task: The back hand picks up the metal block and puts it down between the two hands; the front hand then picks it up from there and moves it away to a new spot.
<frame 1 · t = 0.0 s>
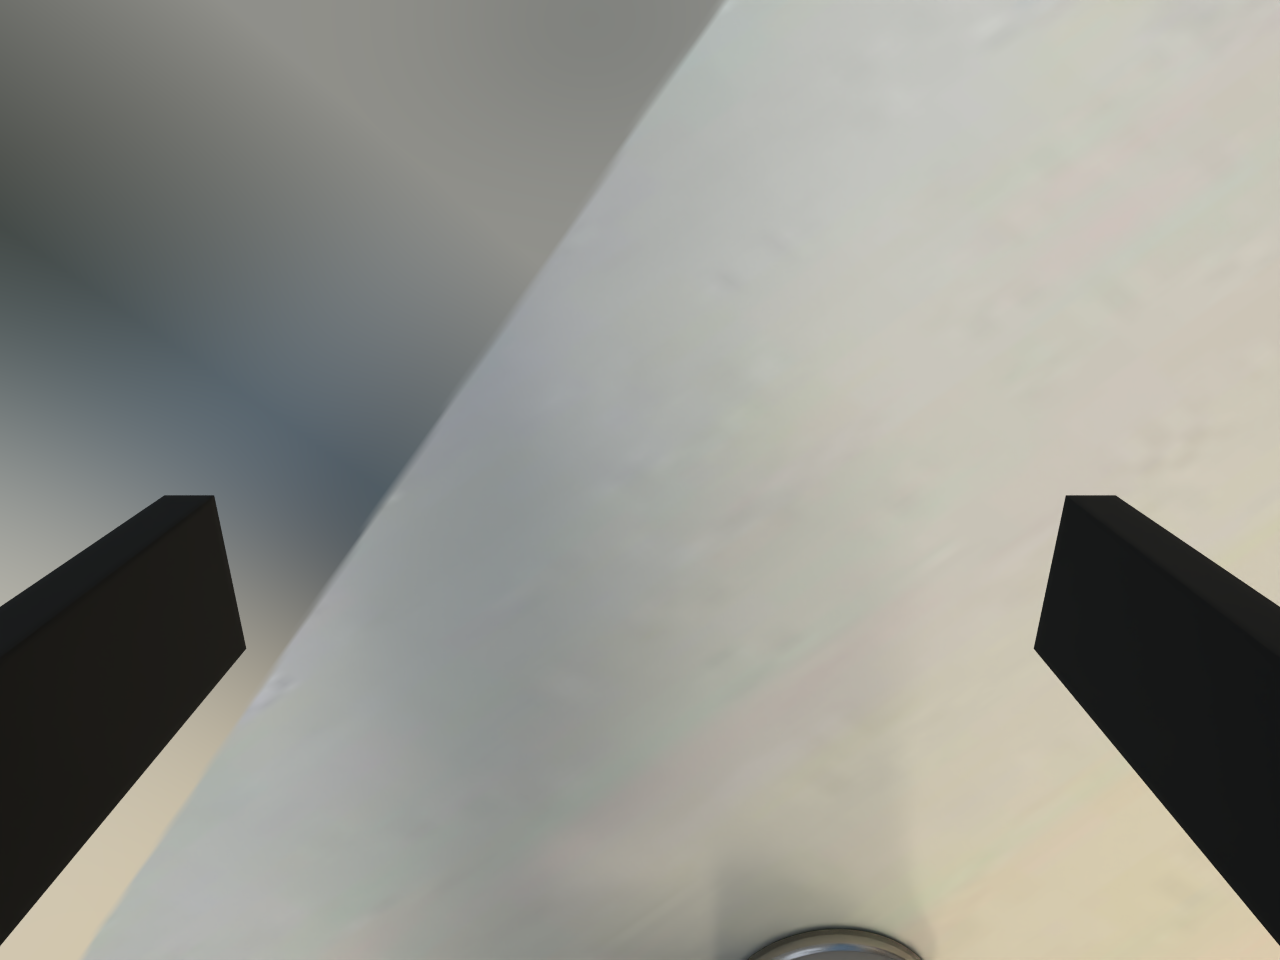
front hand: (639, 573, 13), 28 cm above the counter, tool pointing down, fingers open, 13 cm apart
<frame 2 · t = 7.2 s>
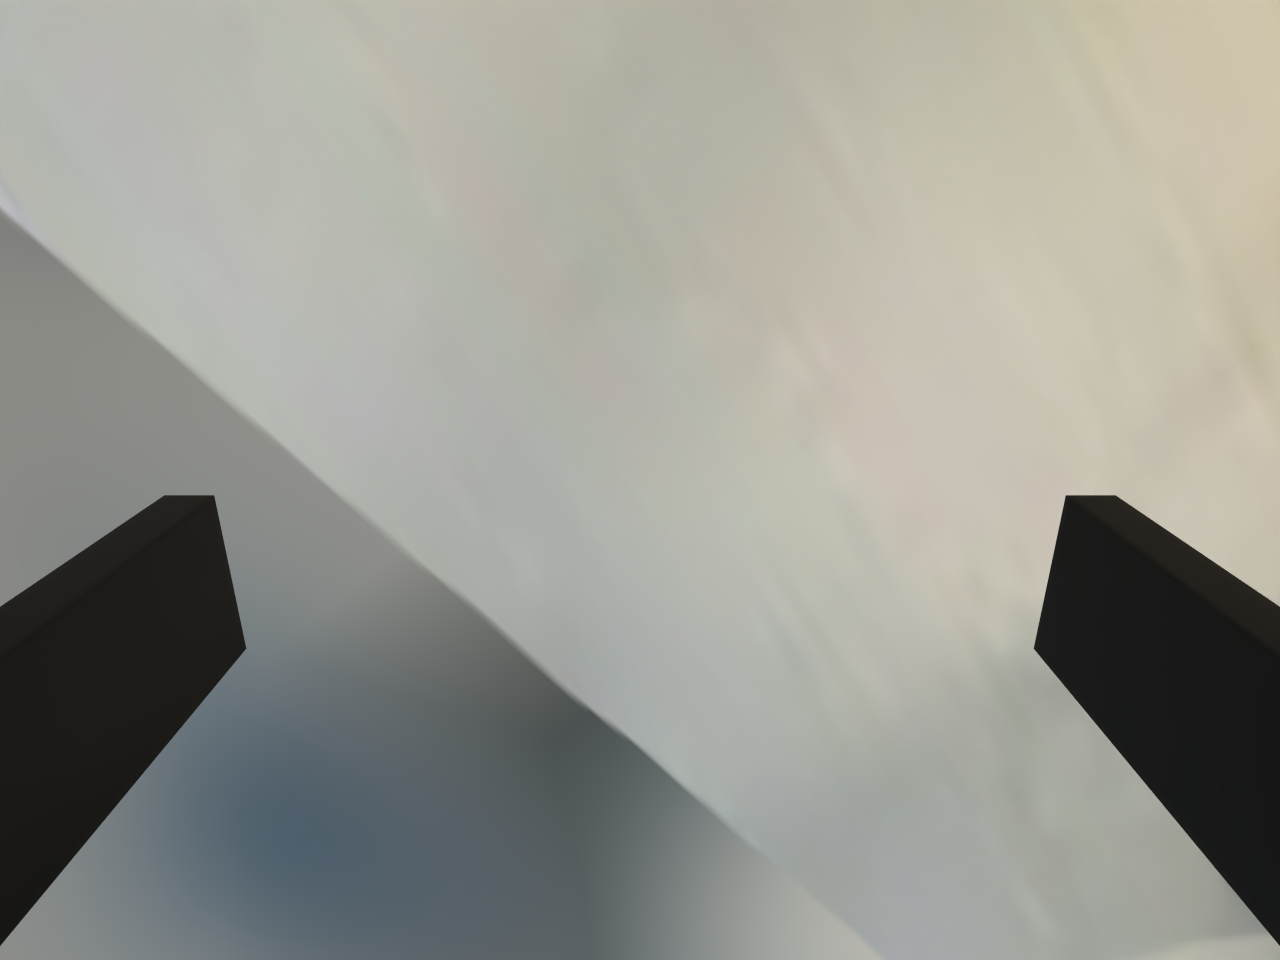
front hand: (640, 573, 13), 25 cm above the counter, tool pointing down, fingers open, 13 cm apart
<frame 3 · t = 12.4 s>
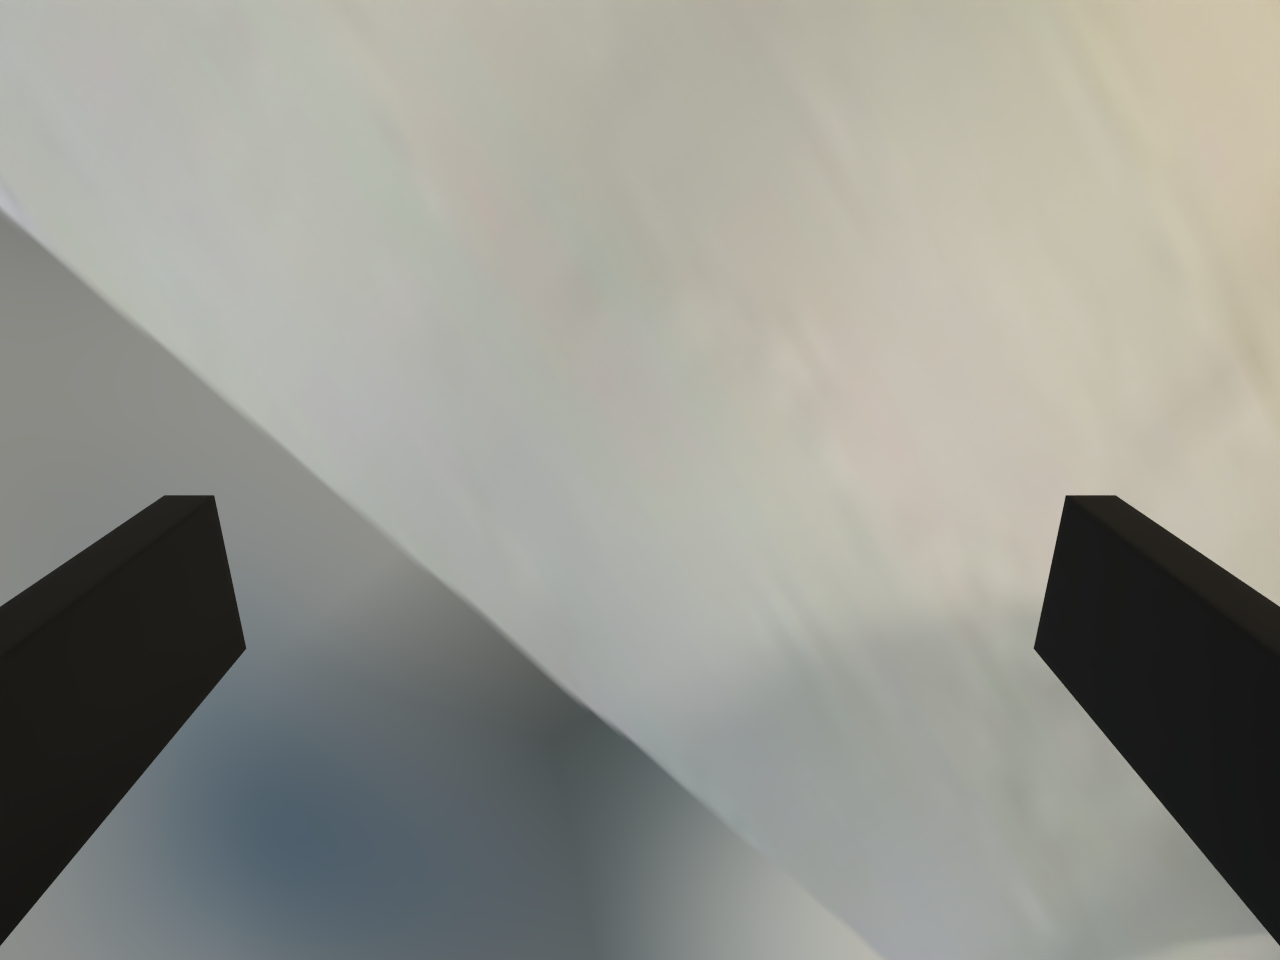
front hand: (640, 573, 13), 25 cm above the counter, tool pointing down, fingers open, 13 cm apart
when the back hand's fingers open (2 cm above the counter, at t = 17.7 s): metal block stays where it is, on the counter.
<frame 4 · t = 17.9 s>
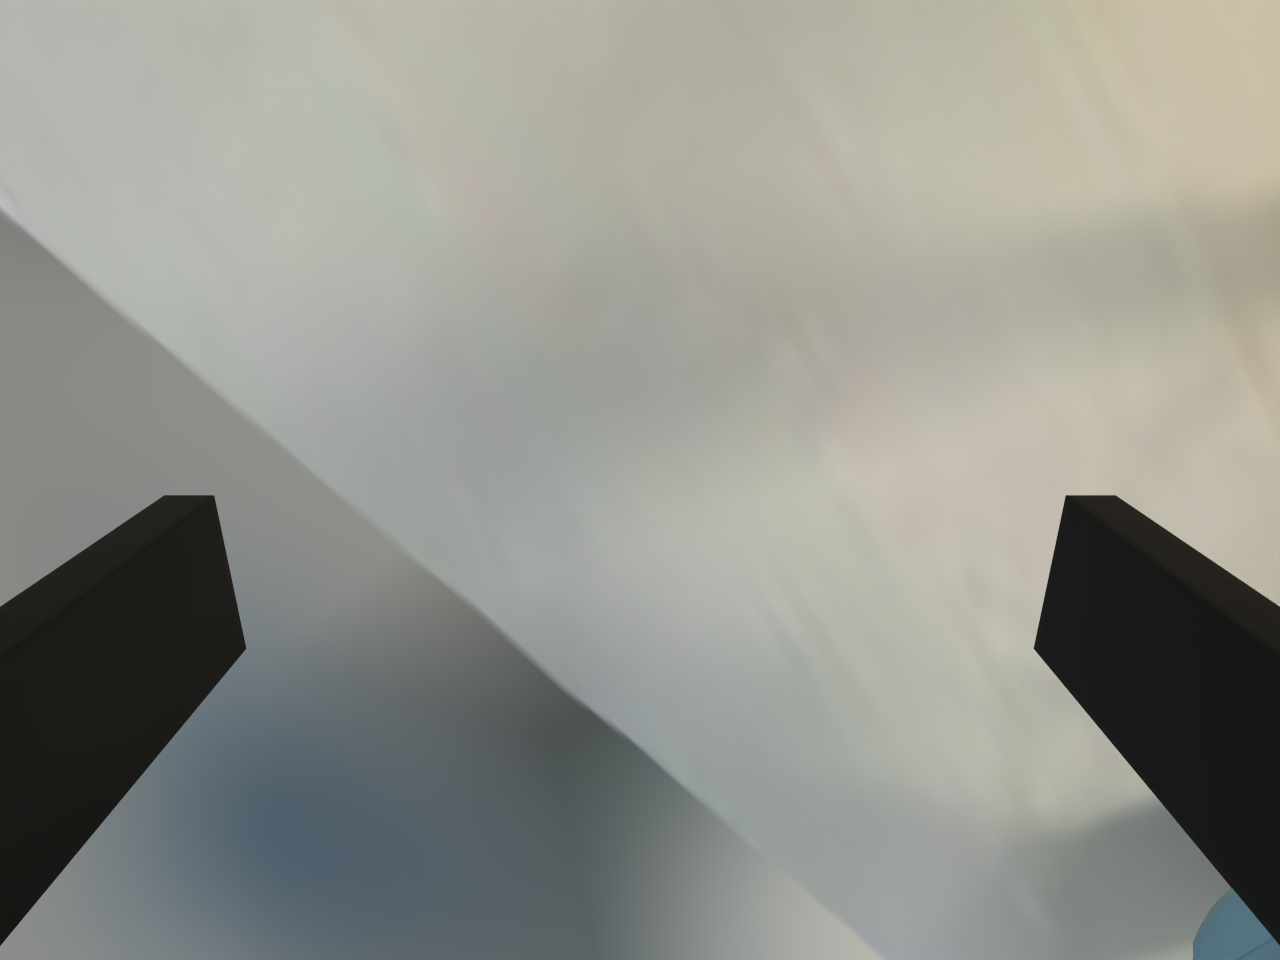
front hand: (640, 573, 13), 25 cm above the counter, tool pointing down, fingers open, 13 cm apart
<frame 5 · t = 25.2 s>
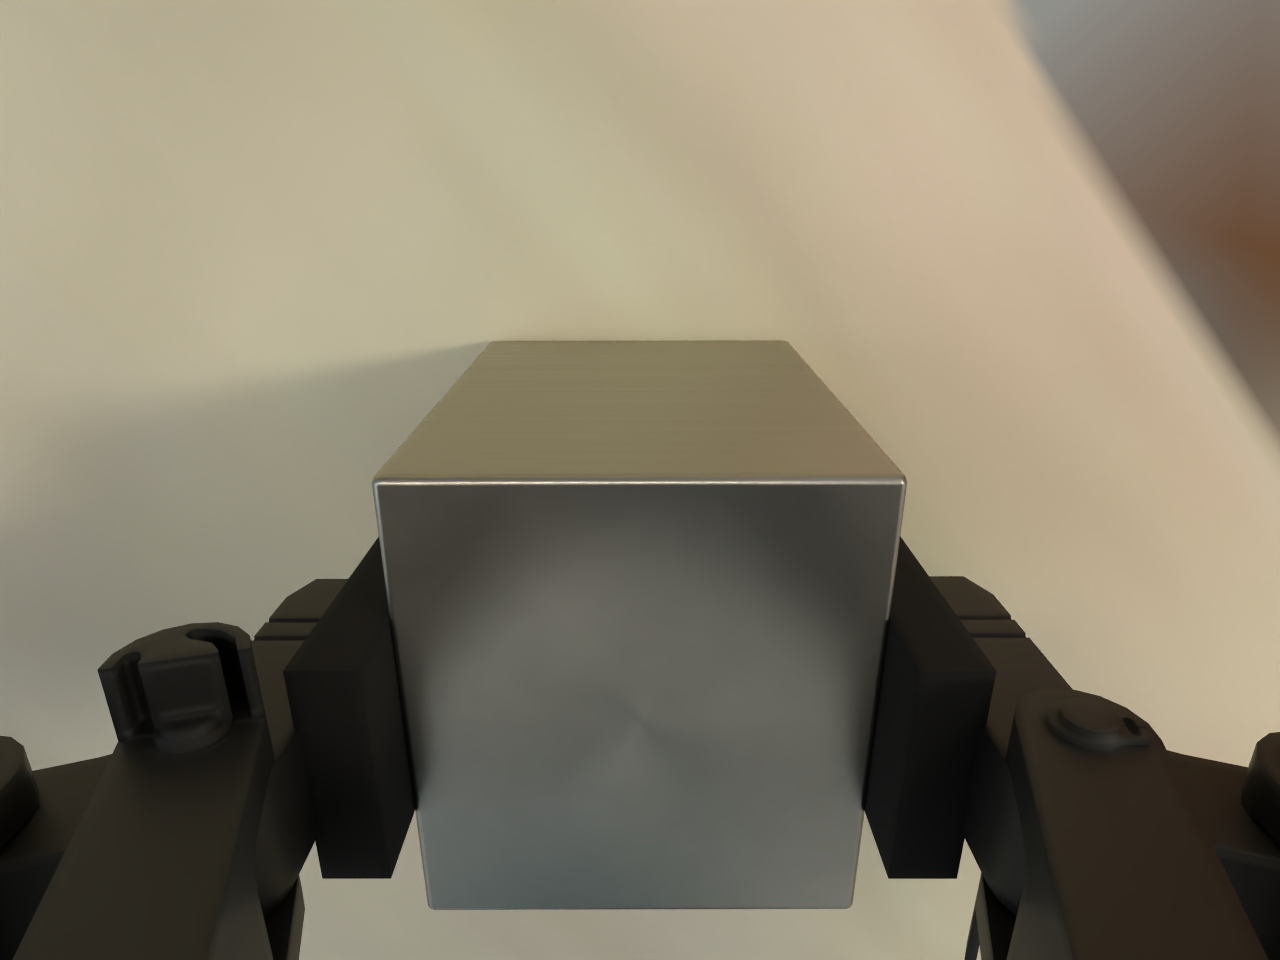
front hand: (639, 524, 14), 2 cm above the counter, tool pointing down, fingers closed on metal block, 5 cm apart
metal block: (639, 491, 16), on the counter, touching front hand
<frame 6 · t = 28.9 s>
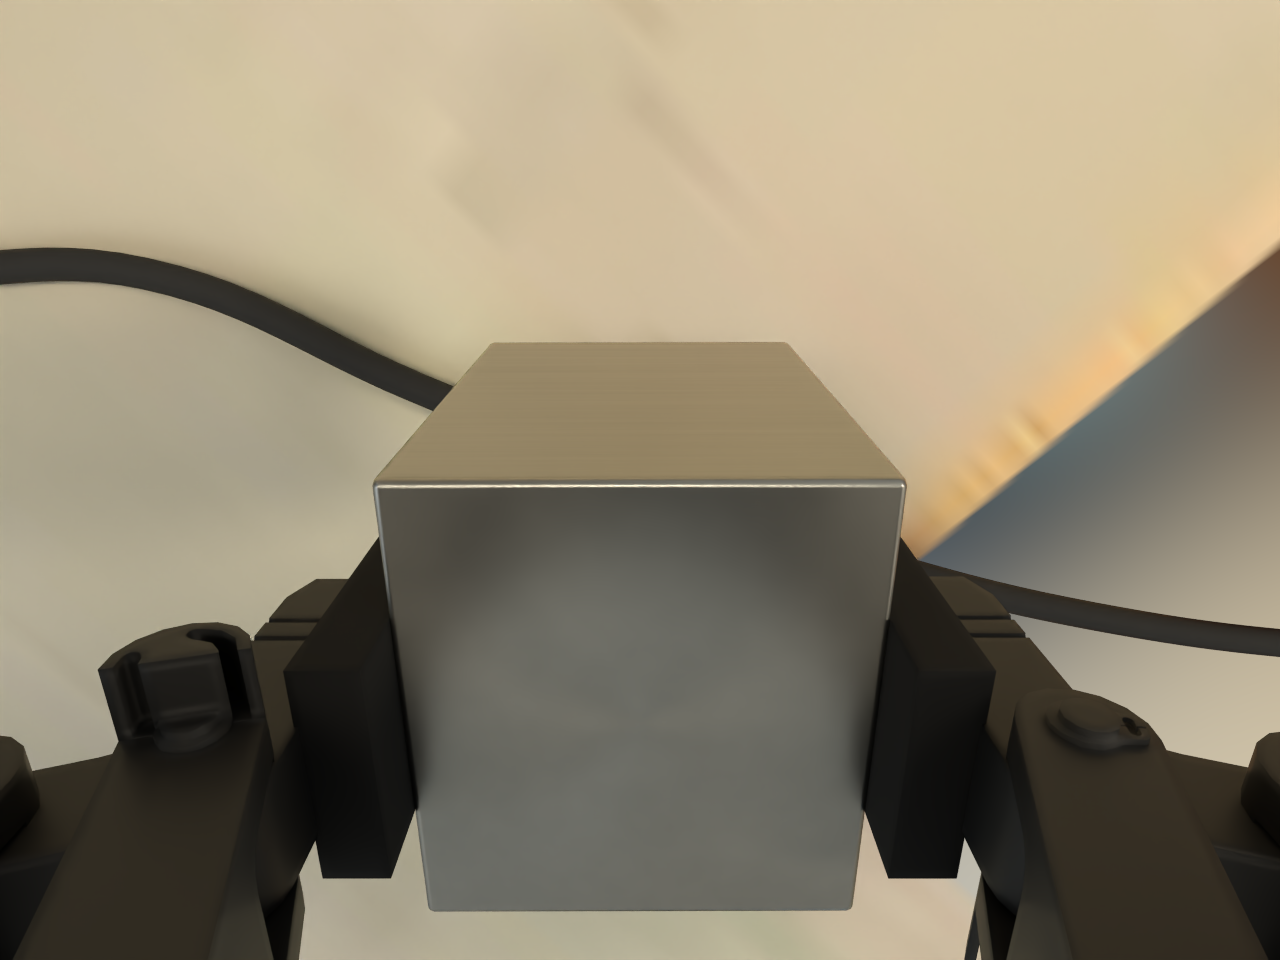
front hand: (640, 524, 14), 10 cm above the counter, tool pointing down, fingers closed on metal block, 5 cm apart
metal block: (639, 492, 16), point 9 cm above the counter, touching front hand
when the front hand's fingers open (2 cm above the counter, at t = 32.6 s): metal block stays where it is, on the counter.
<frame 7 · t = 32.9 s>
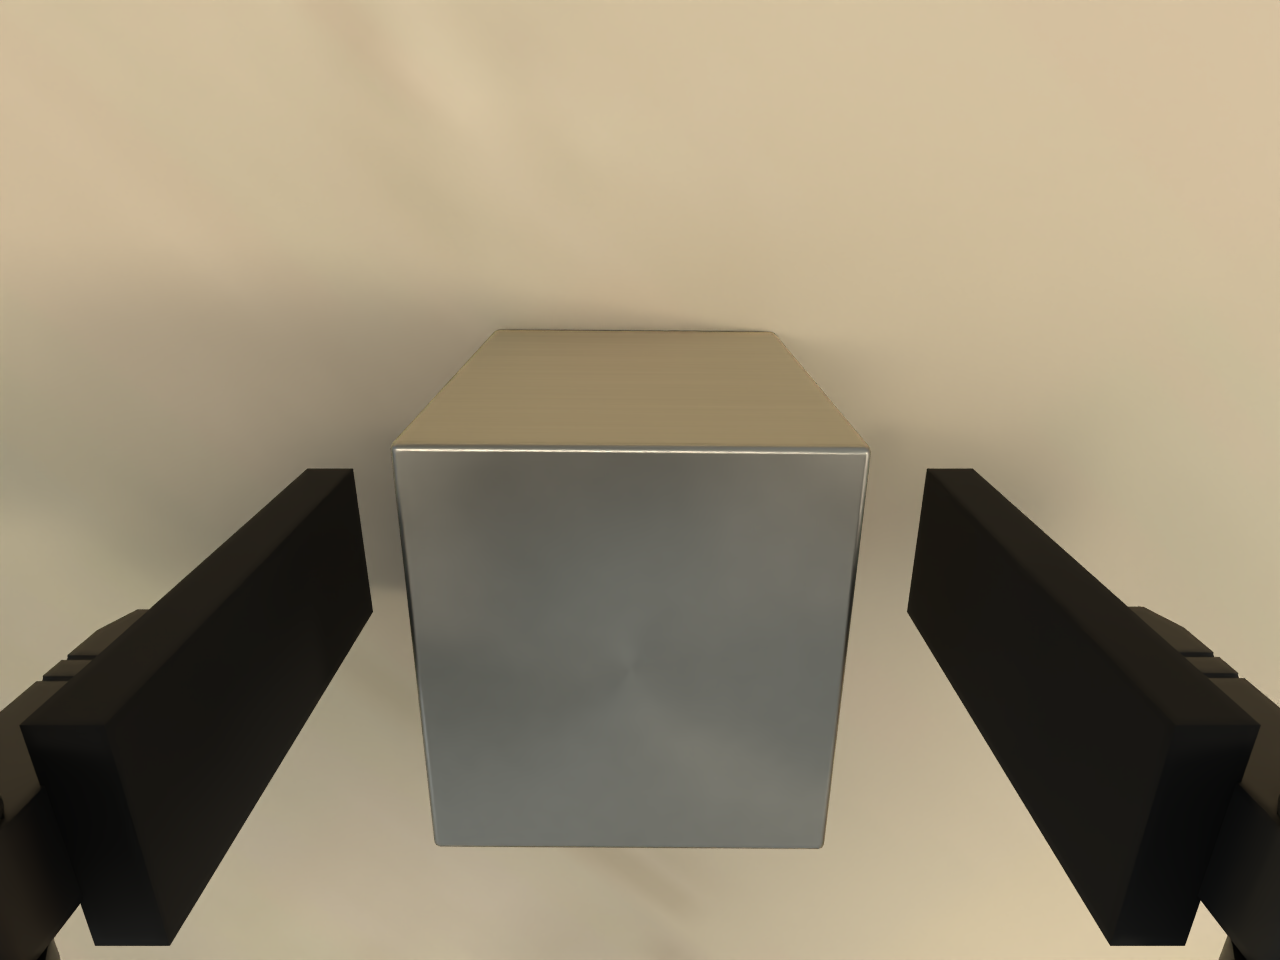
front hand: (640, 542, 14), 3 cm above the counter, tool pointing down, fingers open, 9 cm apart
metal block: (634, 473, 17), on the counter
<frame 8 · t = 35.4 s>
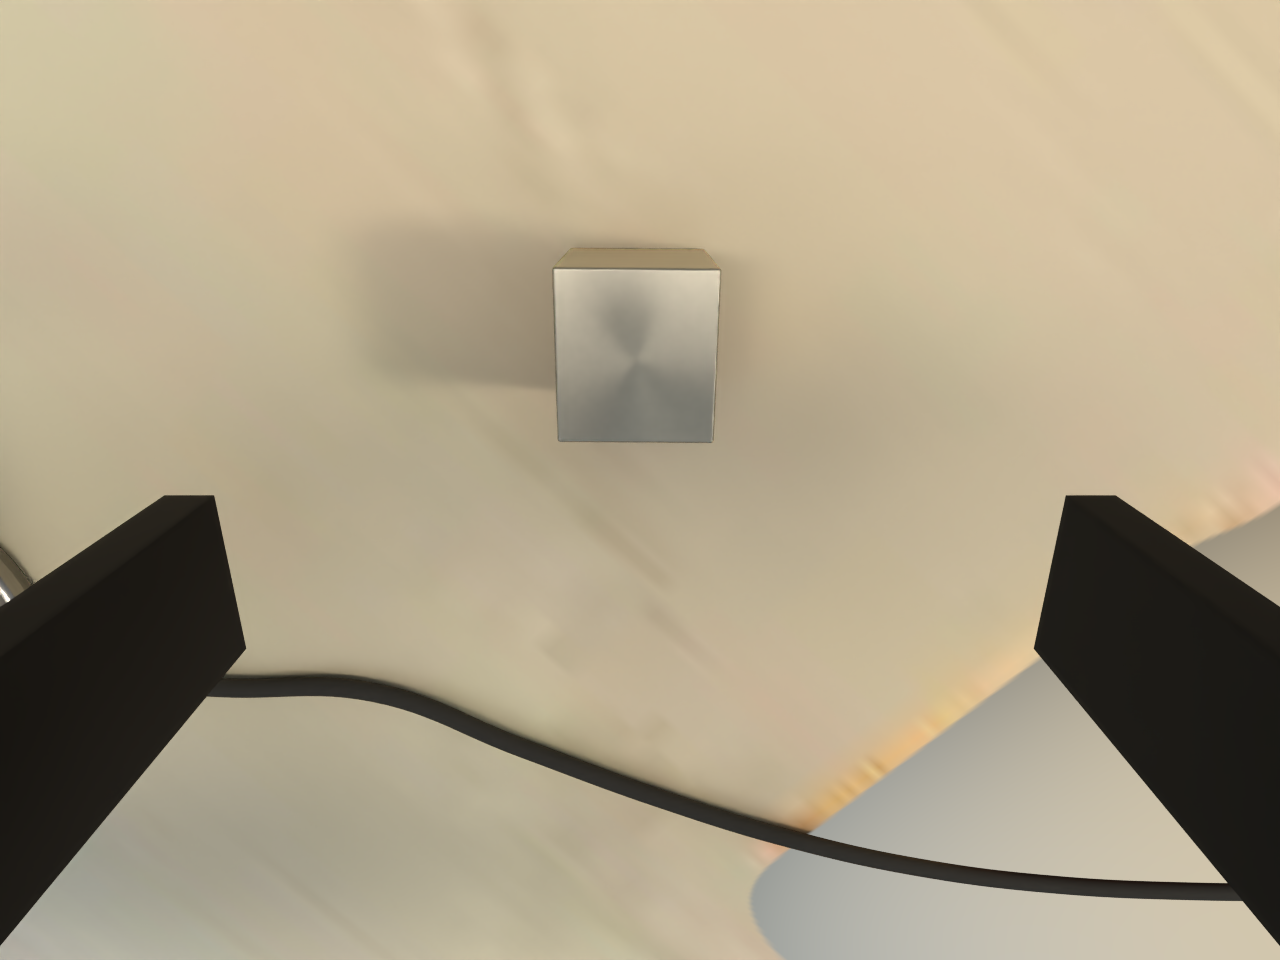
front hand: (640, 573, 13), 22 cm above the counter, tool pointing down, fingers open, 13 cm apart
metal block: (637, 322, 33), on the counter
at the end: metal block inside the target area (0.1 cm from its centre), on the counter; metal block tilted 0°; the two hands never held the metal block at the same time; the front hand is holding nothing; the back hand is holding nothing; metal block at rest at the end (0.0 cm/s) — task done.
